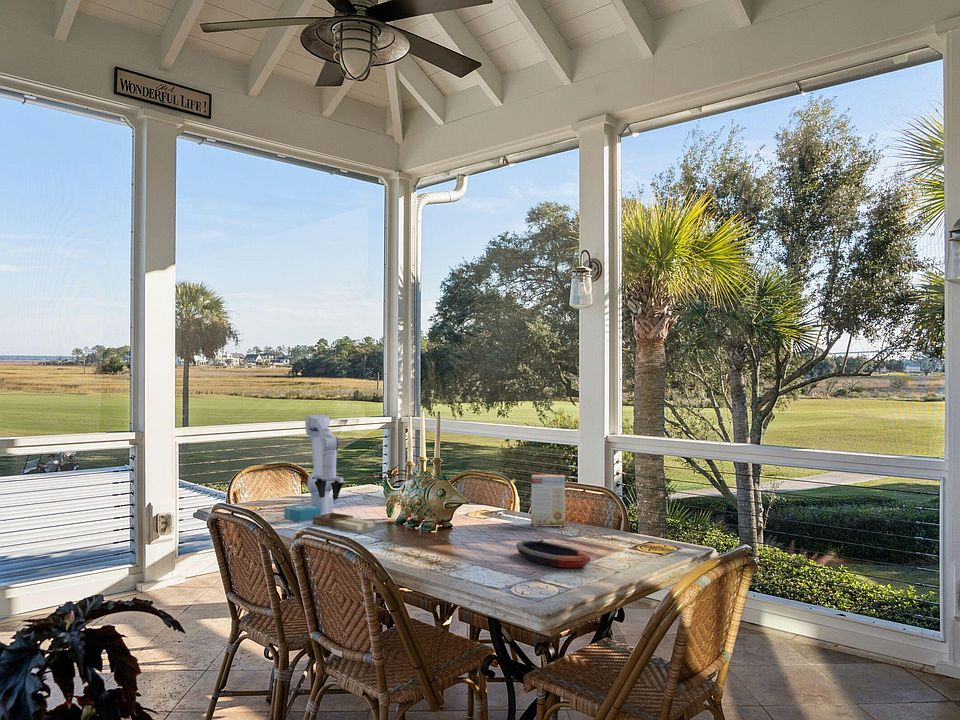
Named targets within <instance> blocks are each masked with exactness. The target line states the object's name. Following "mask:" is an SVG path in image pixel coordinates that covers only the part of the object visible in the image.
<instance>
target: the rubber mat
mask: <svg viewBox="0 0 960 720" xmlns="http://www.w3.org/2000/svg"><path fill="white" fill-rule="evenodd" d="M386 528H389V527H388V525H381V524H377V523H376V524H375V526H374V527H370V528H366V529H362V530H358V531H356V530H350V529H344V528H338V527H330V529H331V530H334V531H335V530H336V531H341V532H348V533H354V534H359V535H362V534H363V535H364V534H367V533H371V532H374V531H379V530H381V529H386Z"/></svg>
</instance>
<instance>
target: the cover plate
mask: <svg viewBox="0 0 960 720" xmlns="http://www.w3.org/2000/svg"><path fill="white" fill-rule="evenodd" d="M376 522H377V521H376V520H371V519H365V518H359V517H358V518H357V517H353V518H350V519H345V520H341V521H337V522H335V527H338V528H344V529H350V530H356V531H358V530H362V529H366V528H370V527H374V526H375V524H376V525H377V523H376Z"/></svg>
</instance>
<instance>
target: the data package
mask: <svg viewBox="0 0 960 720" xmlns="http://www.w3.org/2000/svg"><path fill="white" fill-rule="evenodd" d="M318 515H321V508H320V507H316V506H312V505H311V504H301V505H300V504H299V505H293V506H285V507H283V518H284V519H285V520H289V521H292V522H295V523H296V522H297V523H300V522H302V523H303V522H309V521H313V517H314V516H318Z"/></svg>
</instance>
